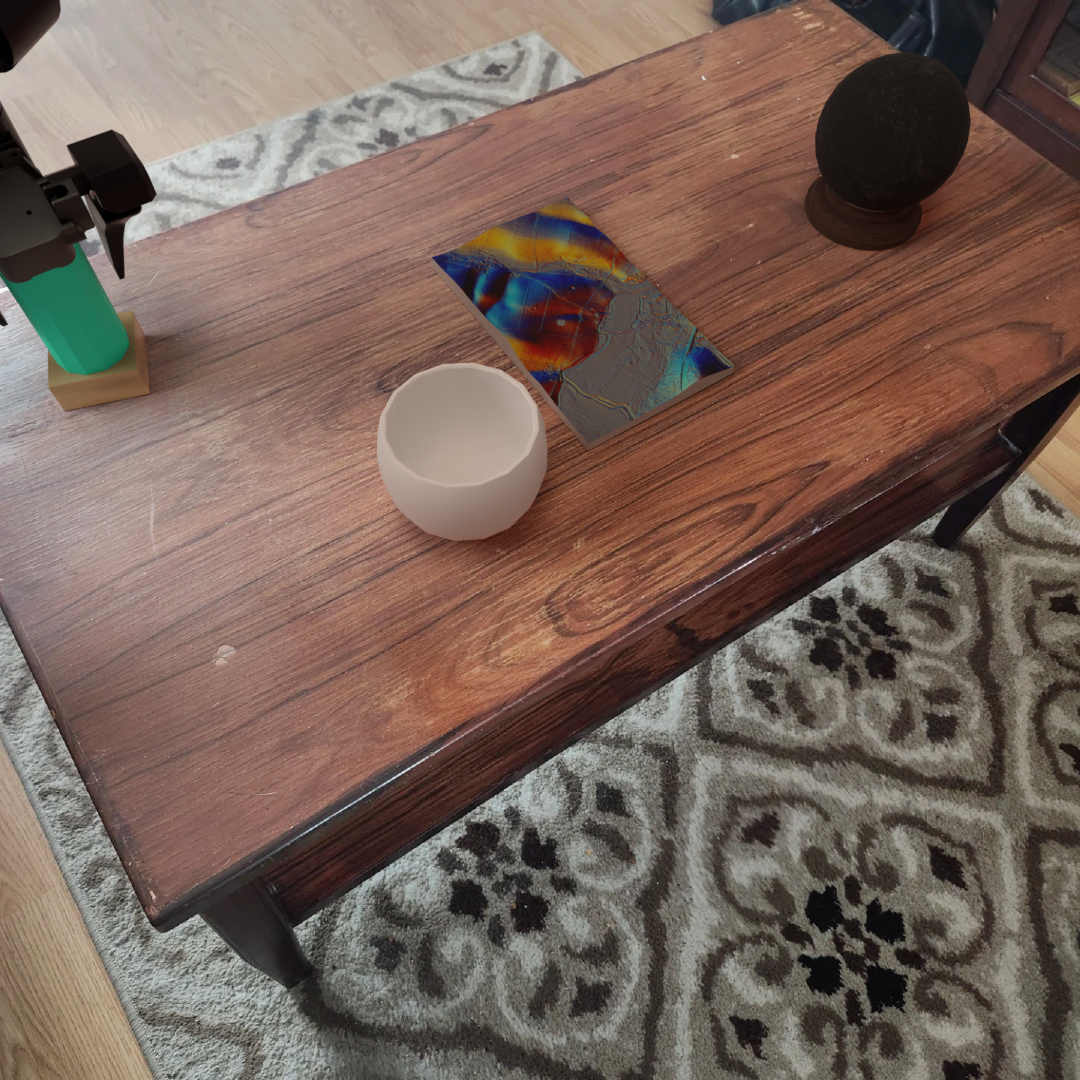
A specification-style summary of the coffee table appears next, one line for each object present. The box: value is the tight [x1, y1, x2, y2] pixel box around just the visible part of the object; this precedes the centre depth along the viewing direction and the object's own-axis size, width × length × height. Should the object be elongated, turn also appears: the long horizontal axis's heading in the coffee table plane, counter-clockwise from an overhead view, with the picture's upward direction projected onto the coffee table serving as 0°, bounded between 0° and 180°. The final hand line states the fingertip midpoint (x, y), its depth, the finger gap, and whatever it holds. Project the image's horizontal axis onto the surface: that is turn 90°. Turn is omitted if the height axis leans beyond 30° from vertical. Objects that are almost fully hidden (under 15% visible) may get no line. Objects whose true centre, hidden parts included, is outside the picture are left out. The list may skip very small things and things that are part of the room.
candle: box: [0, 242, 129, 375], centre depth 70 cm, size 6×6×12 cm
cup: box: [376, 362, 548, 542], centre depth 67 cm, size 12×12×10 cm
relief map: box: [430, 196, 735, 451], centre depth 81 cm, size 25×15×2 cm, turn 33°
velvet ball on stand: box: [804, 52, 972, 252], centre depth 83 cm, size 13×13×15 cm
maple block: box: [47, 310, 151, 412], centre depth 77 cm, size 7×7×3 cm
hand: (63, 298), depth 71 cm, fingers open, 9 cm apart
